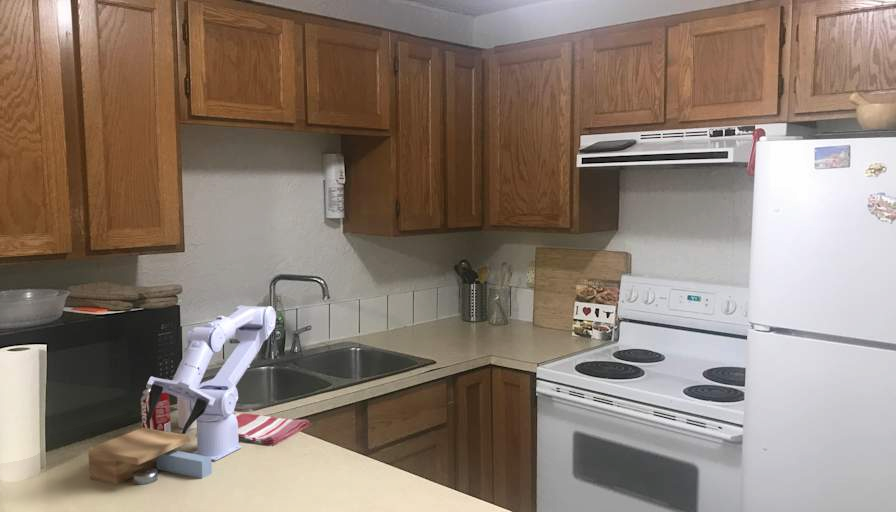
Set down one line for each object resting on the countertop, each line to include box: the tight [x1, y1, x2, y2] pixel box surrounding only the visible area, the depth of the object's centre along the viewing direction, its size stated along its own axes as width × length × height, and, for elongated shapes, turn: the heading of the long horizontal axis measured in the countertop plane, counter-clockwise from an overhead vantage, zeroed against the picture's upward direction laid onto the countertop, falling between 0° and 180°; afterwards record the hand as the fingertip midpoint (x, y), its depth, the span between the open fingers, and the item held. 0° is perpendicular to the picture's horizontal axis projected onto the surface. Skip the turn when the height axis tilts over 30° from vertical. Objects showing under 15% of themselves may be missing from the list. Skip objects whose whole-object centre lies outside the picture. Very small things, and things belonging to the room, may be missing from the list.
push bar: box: [156, 449, 213, 479], centre depth 159 cm, size 3×14×4 cm, turn 65°
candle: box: [176, 383, 201, 430], centre depth 190 cm, size 6×6×15 cm
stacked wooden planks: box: [87, 427, 191, 485], centre depth 159 cm, size 15×14×7 cm
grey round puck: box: [132, 467, 159, 486], centre depth 154 cm, size 5×5×2 cm
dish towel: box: [233, 412, 310, 447], centre depth 186 cm, size 17×23×3 cm
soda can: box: [140, 388, 172, 432], centre depth 182 cm, size 7×7×12 cm
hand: (165, 426), depth 150 cm, fingers open, 7 cm apart
